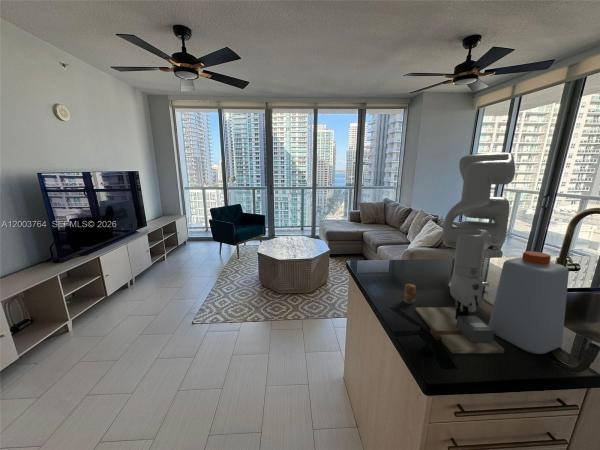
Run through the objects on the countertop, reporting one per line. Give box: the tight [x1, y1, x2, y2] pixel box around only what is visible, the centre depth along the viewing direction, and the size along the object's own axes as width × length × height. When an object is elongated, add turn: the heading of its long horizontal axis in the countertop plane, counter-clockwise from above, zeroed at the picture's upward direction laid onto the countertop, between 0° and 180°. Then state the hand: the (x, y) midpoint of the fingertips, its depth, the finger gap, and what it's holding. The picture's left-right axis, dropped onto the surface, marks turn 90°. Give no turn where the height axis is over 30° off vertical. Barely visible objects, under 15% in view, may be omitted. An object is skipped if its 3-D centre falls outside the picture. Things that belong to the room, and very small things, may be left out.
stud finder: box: [456, 315, 495, 342], centre depth 78 cm, size 6×8×4 cm
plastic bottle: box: [488, 250, 570, 355], centre depth 76 cm, size 15×15×28 cm
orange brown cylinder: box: [403, 283, 417, 305], centre depth 102 cm, size 4×4×7 cm
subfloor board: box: [415, 306, 505, 354], centre depth 84 cm, size 18×24×1 cm
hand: (461, 320), depth 85 cm, fingers closed
